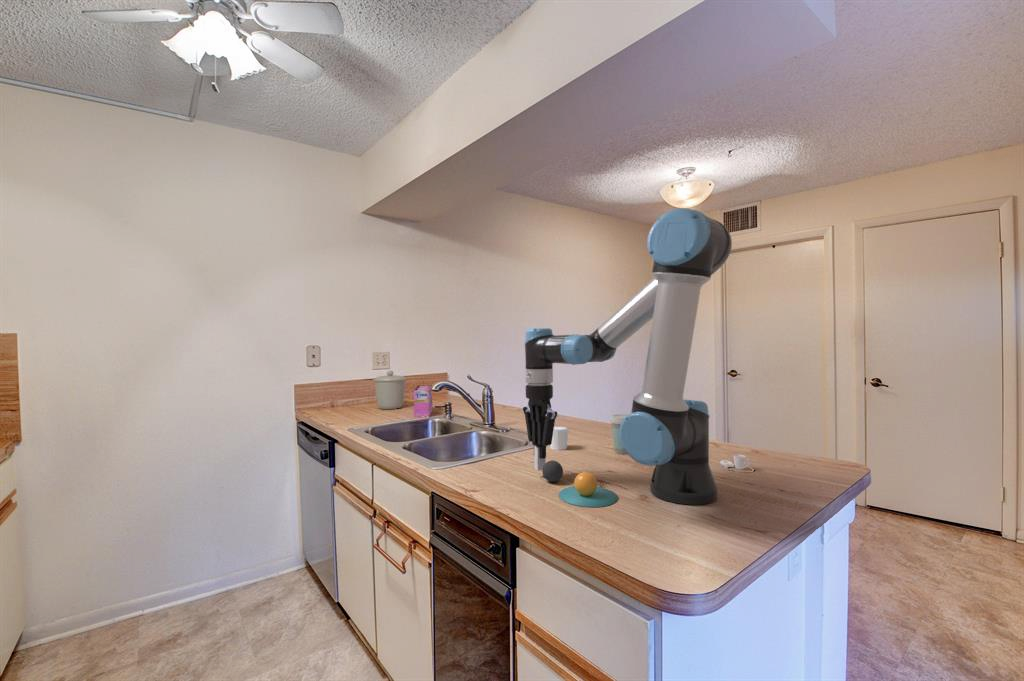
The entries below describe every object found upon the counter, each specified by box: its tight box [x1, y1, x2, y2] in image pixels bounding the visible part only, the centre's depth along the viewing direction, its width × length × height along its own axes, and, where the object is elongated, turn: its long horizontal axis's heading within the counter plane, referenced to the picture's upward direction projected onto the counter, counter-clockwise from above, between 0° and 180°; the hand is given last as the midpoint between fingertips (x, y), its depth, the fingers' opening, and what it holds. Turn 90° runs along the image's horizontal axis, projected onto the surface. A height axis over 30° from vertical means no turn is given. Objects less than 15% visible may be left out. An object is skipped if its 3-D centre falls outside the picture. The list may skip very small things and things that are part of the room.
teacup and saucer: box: [719, 454, 751, 470], centre depth 127 cm, size 9×8×4 cm
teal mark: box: [558, 486, 619, 508], centre depth 105 cm, size 14×14×1 cm
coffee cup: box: [610, 413, 629, 455], centre depth 145 cm, size 8×8×12 cm
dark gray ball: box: [541, 459, 564, 483], centre depth 116 cm, size 6×6×6 cm
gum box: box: [413, 384, 434, 418], centre depth 227 cm, size 24×8×14 cm, turn 7°
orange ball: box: [573, 471, 598, 496], centre depth 106 cm, size 6×6×6 cm
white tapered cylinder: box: [549, 425, 569, 451], centre depth 152 cm, size 7×7×7 cm
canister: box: [372, 370, 407, 410], centre depth 245 cm, size 18×18×21 cm
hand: (540, 469), depth 121 cm, fingers closed
